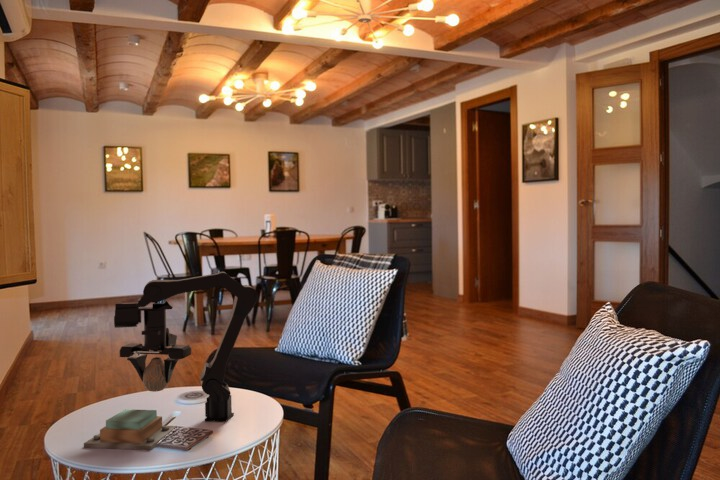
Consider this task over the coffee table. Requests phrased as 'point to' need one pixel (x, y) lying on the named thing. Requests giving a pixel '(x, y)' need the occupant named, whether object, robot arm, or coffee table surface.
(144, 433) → the stacked plates with bolts
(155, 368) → the vase
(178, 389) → the coffee table surface
